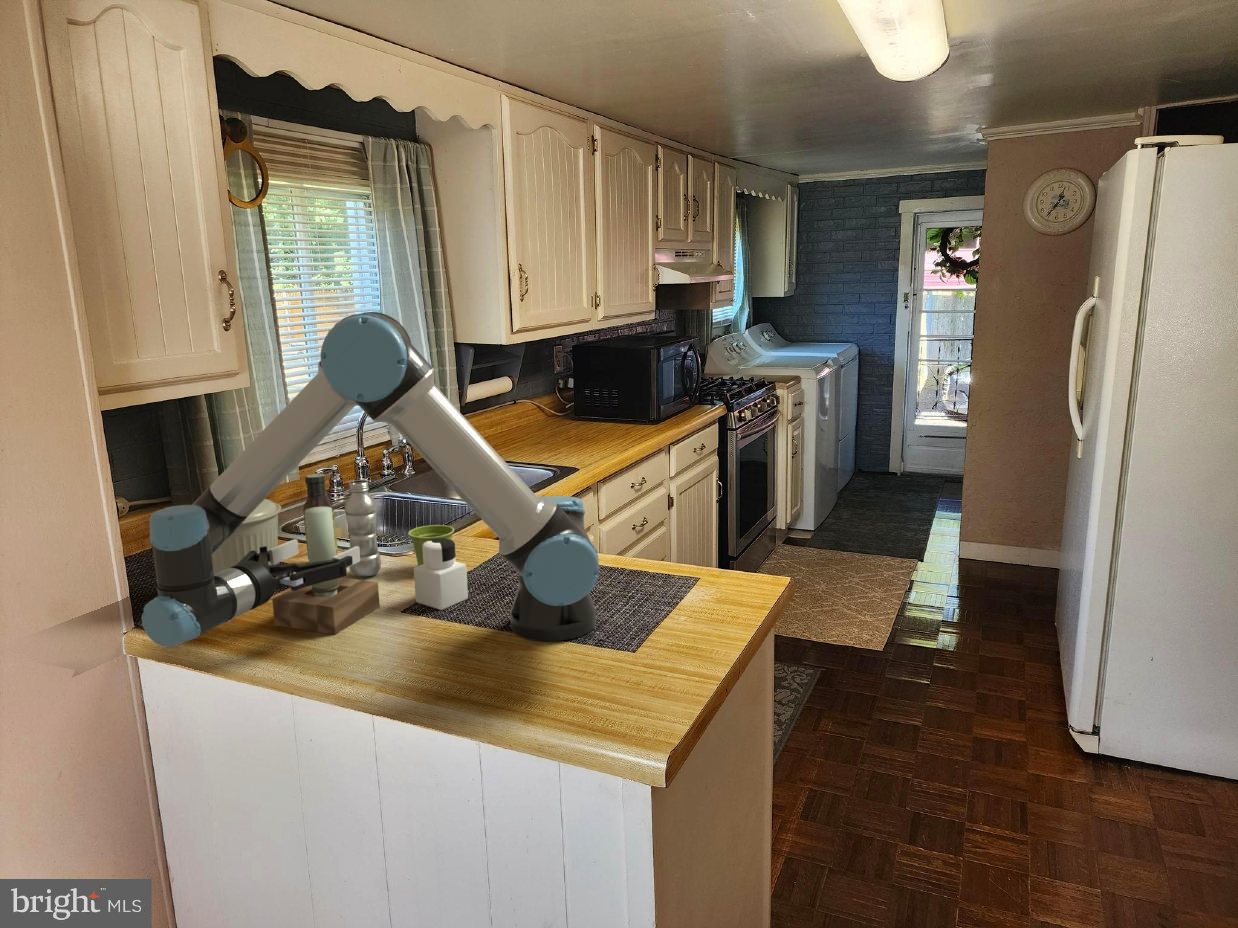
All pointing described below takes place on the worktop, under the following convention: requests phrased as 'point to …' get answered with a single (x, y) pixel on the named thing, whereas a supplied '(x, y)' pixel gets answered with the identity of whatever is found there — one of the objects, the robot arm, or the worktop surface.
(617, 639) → the worktop surface
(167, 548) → the robot arm
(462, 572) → the medicine bottle
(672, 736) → the worktop surface
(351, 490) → the plastic bottle
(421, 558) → the plant pot
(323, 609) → the wooden holder block
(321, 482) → the sauce bottle
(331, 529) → the stool leg
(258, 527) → the canister
